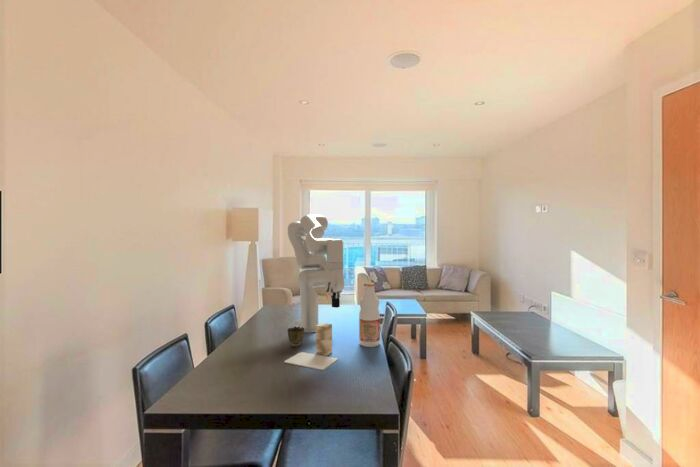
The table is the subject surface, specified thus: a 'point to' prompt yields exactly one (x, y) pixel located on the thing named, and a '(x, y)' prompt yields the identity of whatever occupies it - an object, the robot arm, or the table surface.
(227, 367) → the table surface
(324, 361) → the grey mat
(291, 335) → the cup
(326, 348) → the maple block
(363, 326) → the fruit juice
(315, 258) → the robot arm
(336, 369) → the table surface
